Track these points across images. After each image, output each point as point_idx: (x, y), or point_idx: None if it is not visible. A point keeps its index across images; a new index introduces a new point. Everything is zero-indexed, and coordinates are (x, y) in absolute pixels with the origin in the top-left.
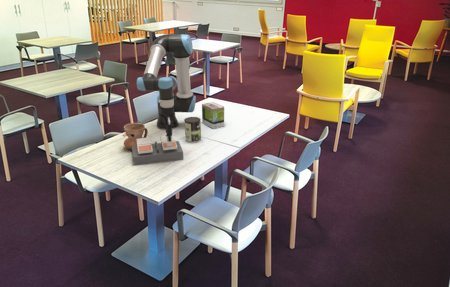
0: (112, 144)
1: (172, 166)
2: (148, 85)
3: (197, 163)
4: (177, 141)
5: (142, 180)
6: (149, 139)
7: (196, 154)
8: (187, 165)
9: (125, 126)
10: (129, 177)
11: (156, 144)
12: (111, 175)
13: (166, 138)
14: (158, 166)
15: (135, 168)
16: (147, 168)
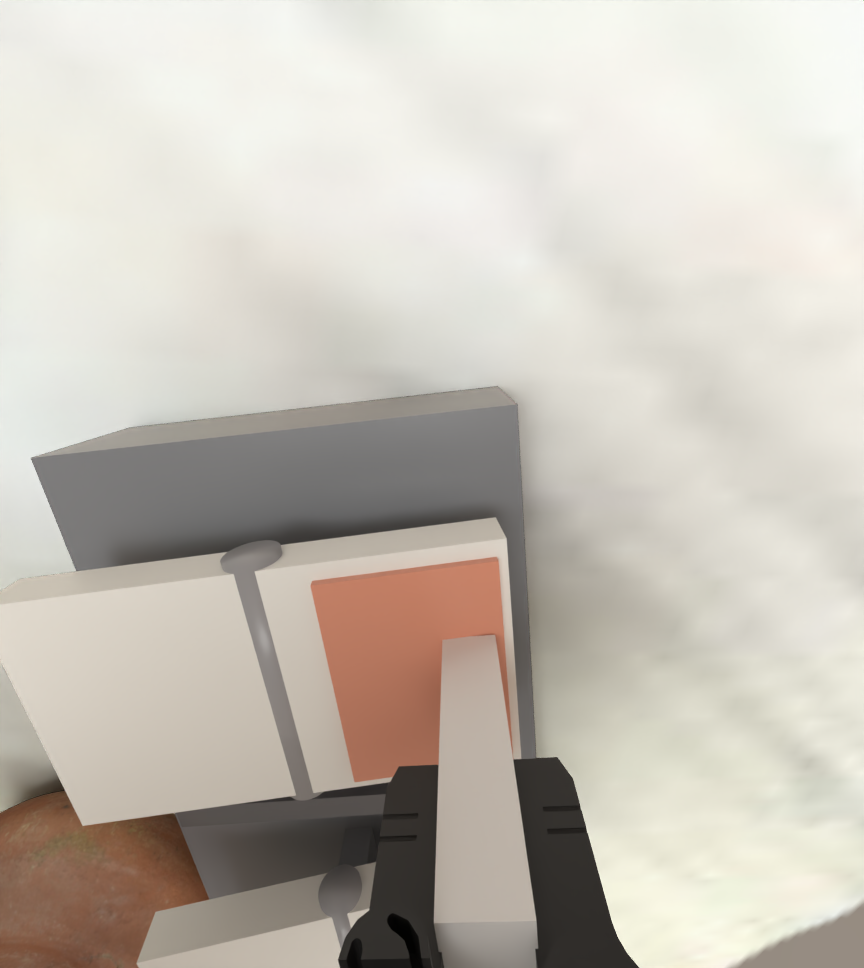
0: None
1: (662, 529)
2: None
3: (685, 171)
4: (60, 479)
5: (855, 787)
6: (210, 957)
7: (357, 159)
8: (699, 338)
9: None
10: (751, 869)
11: (289, 810)
12: (664, 964)
13: (138, 732)
14: (614, 667)
15: (594, 838)
16: (627, 756)
